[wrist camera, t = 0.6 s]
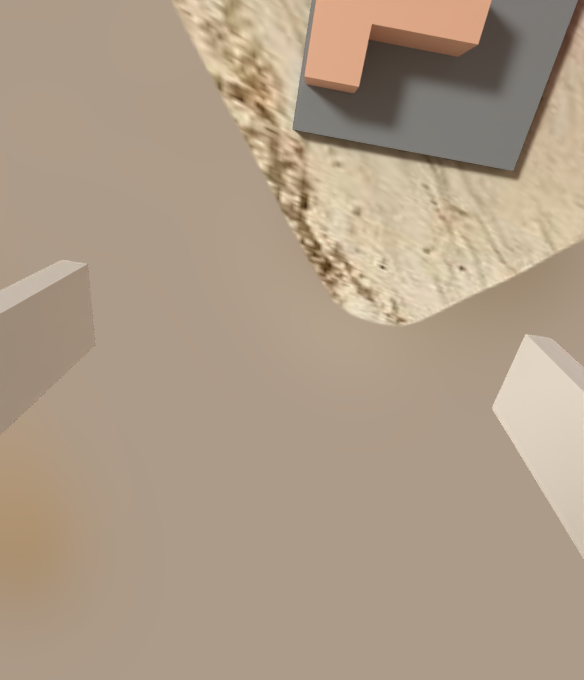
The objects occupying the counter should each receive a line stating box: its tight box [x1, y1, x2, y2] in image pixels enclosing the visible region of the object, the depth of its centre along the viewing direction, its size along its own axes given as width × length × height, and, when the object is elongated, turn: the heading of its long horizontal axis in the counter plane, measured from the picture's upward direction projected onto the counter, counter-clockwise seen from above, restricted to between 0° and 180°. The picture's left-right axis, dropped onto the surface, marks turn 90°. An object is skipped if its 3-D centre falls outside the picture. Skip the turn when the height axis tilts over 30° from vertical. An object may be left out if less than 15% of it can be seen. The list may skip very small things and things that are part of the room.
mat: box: [293, 0, 578, 171], centre depth 28 cm, size 16×17×1 cm
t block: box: [304, 0, 492, 93], centre depth 25 cm, size 10×10×4 cm
